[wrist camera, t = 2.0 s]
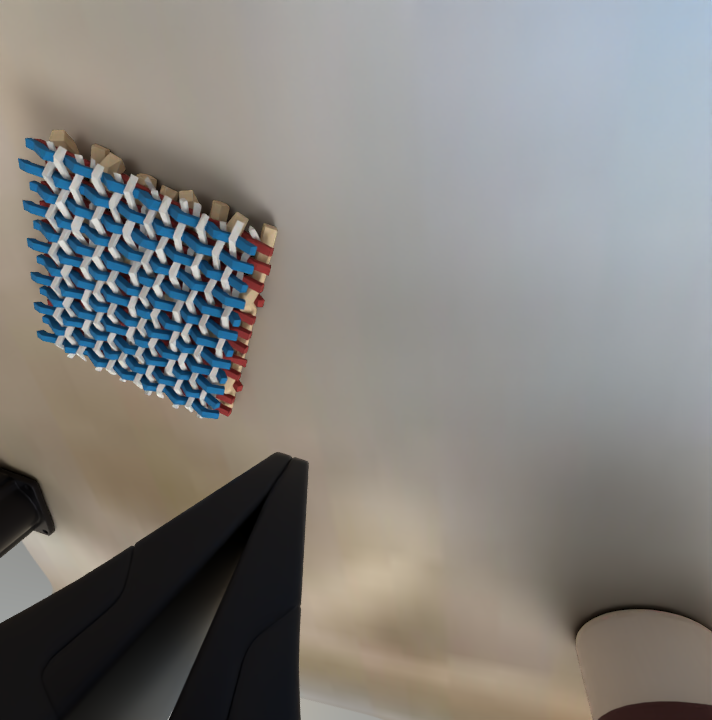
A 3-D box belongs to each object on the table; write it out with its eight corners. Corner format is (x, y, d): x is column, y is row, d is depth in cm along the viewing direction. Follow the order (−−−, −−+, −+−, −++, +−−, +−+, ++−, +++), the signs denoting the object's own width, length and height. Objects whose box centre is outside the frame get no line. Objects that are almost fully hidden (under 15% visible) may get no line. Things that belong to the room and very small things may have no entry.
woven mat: (240, 414, 19) (220, 436, 17) (71, 333, 19) (33, 347, 17) (292, 231, 14) (270, 236, 12) (61, 123, 14) (6, 113, 12)
